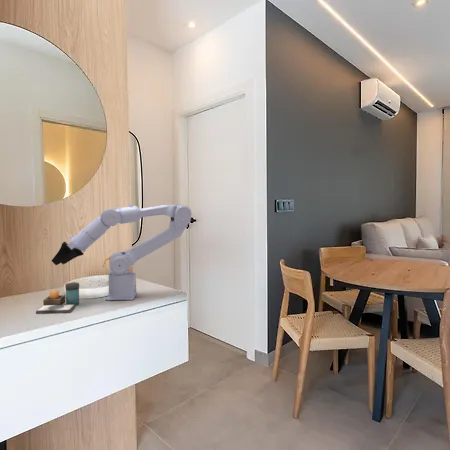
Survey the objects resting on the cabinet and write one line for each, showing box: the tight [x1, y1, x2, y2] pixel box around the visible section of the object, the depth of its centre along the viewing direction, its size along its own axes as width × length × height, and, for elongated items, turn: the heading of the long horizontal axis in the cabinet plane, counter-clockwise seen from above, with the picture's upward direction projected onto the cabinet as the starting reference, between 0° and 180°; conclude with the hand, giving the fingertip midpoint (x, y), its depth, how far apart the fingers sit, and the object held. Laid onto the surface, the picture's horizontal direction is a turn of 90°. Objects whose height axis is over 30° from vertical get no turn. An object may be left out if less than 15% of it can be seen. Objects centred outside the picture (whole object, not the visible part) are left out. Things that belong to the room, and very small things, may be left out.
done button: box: [49, 290, 60, 299], centre depth 108 cm, size 3×3×3 cm
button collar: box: [42, 294, 66, 306], centre depth 108 cm, size 5×5×2 cm
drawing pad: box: [35, 304, 77, 315], centre depth 103 cm, size 10×5×1 cm, turn 97°
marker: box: [64, 281, 80, 307], centre depth 108 cm, size 4×4×7 cm
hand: (57, 262), depth 109 cm, fingers open, 7 cm apart
